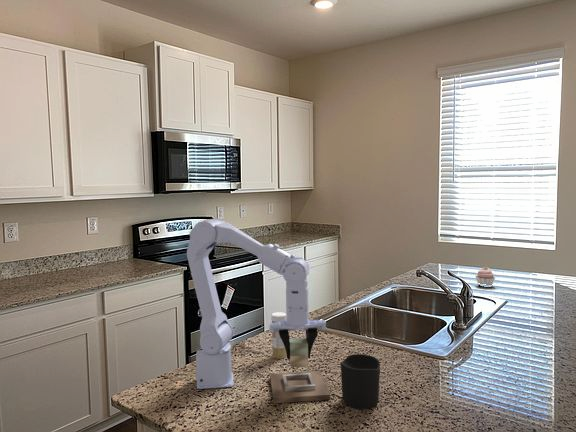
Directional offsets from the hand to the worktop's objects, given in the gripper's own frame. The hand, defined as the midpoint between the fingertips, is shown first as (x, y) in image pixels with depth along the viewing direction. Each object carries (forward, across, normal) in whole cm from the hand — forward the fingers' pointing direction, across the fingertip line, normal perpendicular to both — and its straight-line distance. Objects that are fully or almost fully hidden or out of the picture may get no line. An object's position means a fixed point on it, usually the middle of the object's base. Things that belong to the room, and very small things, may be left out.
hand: (298, 357), depth 116 cm
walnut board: (+8, 0, 0) cm, 8 cm away
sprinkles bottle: (+8, -3, +22) cm, 24 cm away
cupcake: (+9, +106, +95) cm, 143 cm away
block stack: (+2, 0, 0) cm, 2 cm away
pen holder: (+9, +14, -9) cm, 19 cm away
